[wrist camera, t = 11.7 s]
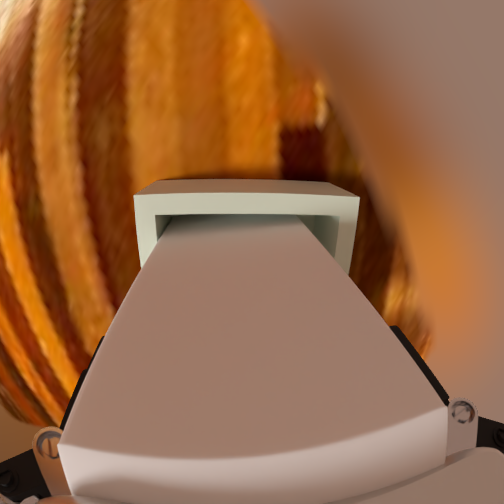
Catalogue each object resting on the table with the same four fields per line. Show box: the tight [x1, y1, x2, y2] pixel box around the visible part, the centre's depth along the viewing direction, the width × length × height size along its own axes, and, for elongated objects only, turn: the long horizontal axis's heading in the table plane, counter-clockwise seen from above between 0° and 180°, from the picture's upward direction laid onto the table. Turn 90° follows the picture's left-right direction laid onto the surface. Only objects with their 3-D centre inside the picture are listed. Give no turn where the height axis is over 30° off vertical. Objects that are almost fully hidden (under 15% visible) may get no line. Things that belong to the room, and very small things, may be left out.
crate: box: [134, 179, 360, 275], centre depth 19 cm, size 21×11×5 cm, turn 178°
